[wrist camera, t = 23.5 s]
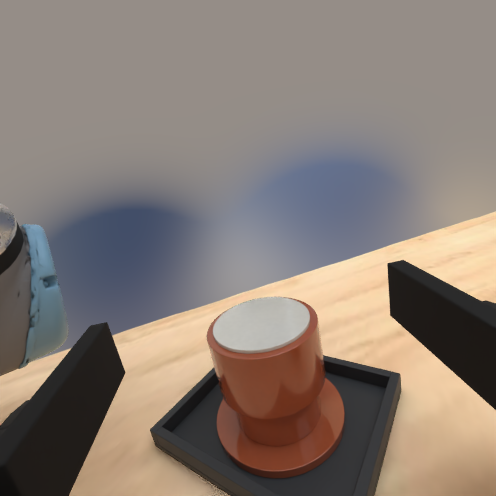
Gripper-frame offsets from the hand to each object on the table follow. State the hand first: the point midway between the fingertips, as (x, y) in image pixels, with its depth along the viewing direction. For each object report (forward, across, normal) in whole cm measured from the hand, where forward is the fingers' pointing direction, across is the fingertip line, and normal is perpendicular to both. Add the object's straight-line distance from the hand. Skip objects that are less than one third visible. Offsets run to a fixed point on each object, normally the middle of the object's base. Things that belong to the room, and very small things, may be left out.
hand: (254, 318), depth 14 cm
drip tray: (+10, 0, -17) cm, 20 cm away
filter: (+10, +1, -17) cm, 20 cm away
